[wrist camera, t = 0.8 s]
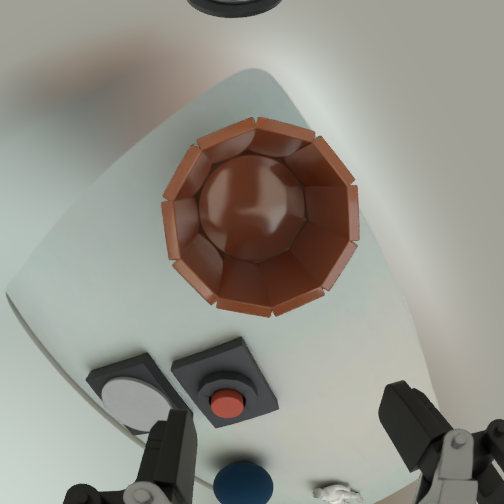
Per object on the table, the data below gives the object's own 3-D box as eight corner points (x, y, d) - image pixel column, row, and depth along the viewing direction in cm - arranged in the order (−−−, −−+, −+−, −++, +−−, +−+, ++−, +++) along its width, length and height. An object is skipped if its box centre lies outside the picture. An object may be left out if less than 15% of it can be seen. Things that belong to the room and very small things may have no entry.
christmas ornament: (206, 471, 32) (204, 522, 22) (225, 447, 31) (226, 505, 21) (255, 480, 34) (260, 528, 24) (279, 457, 32) (290, 510, 22)
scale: (91, 370, 27) (83, 382, 24) (148, 352, 27) (141, 366, 24) (137, 425, 29) (132, 438, 27) (193, 413, 29) (191, 428, 26)
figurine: (343, 513, 36) (298, 508, 30) (337, 501, 39) (292, 492, 34) (370, 498, 35) (333, 491, 30) (363, 486, 39) (325, 474, 34)
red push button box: (173, 361, 27) (167, 378, 24) (241, 336, 27) (243, 353, 24) (216, 419, 29) (215, 436, 26) (277, 400, 29) (281, 417, 26)
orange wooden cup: (171, 179, 13) (129, 173, 8) (285, 130, 13) (319, 94, 7) (220, 283, 15) (213, 342, 9) (328, 236, 15) (382, 267, 9)
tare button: (206, 393, 25) (205, 402, 24) (234, 384, 25) (235, 393, 24) (220, 412, 26) (220, 421, 25) (248, 404, 26) (248, 413, 24)
